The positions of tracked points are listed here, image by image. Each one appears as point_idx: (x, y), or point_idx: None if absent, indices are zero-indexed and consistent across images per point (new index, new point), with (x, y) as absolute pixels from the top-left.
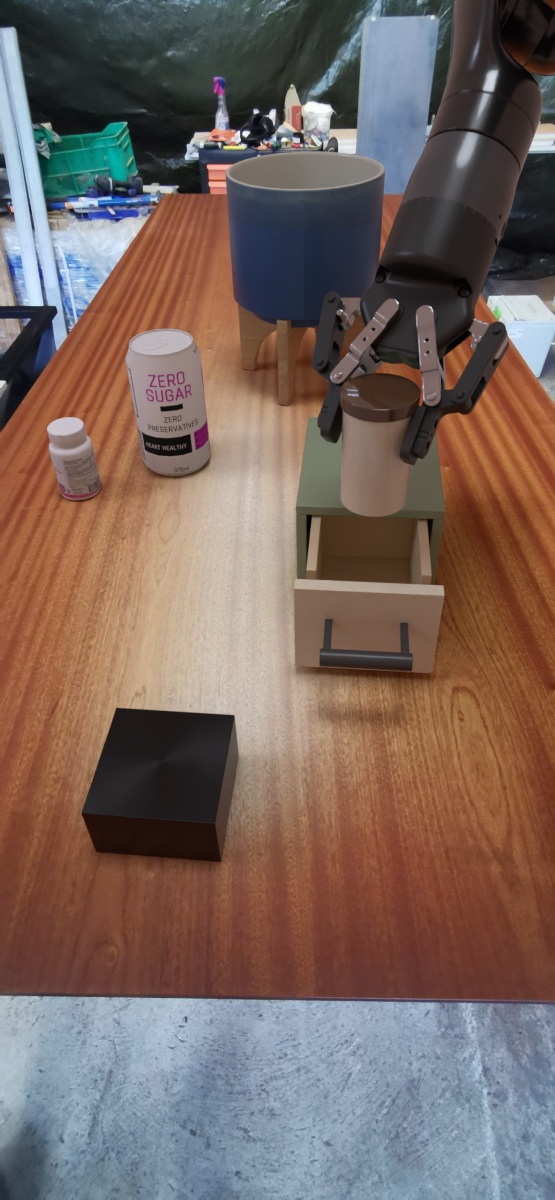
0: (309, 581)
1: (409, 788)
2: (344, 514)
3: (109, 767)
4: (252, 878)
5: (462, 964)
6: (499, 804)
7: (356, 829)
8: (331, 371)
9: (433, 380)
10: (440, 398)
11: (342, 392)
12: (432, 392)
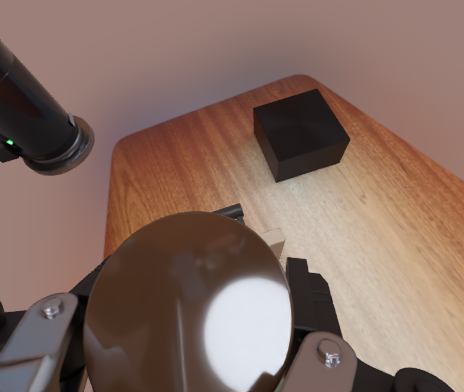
0: (270, 241)
1: (178, 200)
2: (283, 375)
3: (323, 109)
4: (237, 132)
5: (143, 137)
6: (130, 210)
7: (199, 169)
8: (367, 389)
9: (24, 346)
10: (31, 307)
11: (275, 263)
12: (44, 316)
